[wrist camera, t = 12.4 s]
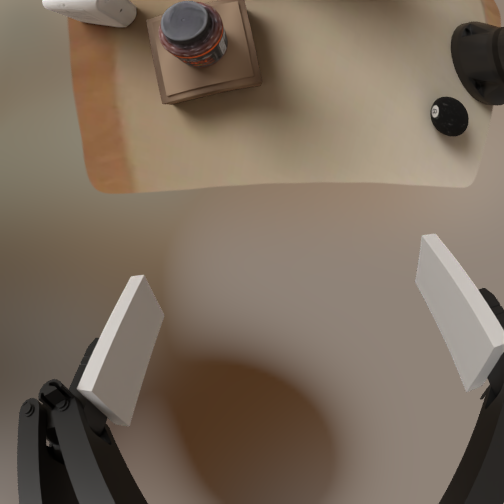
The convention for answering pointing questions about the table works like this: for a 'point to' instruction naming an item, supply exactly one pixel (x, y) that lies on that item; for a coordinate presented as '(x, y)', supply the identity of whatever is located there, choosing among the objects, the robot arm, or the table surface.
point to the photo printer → (95, 11)
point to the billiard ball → (449, 116)
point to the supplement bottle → (193, 33)
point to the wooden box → (217, 75)
